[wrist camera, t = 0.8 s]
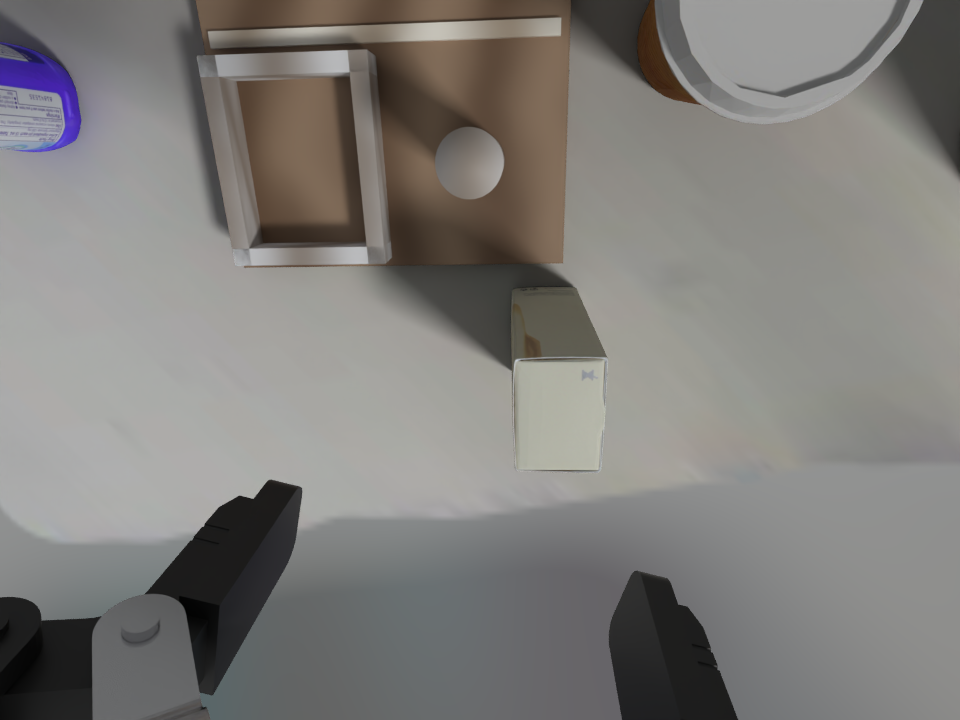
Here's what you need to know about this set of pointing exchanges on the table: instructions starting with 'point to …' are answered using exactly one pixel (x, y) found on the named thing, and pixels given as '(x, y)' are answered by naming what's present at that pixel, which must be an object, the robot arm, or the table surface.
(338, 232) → the pin board
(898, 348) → the table surface
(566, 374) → the skincare box
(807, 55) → the disposable coffee cup
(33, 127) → the bottle
